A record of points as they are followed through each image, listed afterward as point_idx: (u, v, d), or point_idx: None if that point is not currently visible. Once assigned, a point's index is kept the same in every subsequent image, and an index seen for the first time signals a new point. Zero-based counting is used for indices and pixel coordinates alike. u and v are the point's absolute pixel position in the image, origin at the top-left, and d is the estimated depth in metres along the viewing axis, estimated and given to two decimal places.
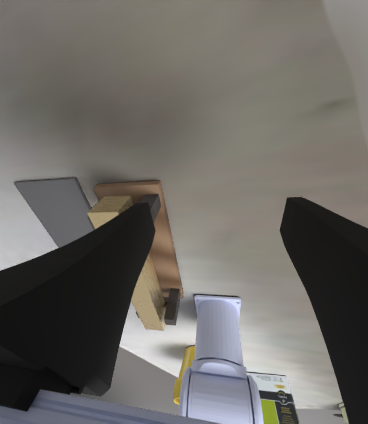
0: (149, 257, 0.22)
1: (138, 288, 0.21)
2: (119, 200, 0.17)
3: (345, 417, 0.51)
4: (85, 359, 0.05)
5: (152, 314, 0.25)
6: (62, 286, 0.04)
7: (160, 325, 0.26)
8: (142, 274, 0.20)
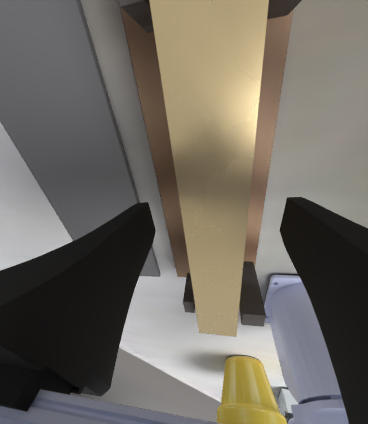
0: None
1: (222, 232, 0.09)
2: None
3: None
4: (85, 359, 0.05)
5: (226, 303, 0.12)
6: (62, 286, 0.04)
7: (234, 325, 0.13)
8: (250, 183, 0.07)
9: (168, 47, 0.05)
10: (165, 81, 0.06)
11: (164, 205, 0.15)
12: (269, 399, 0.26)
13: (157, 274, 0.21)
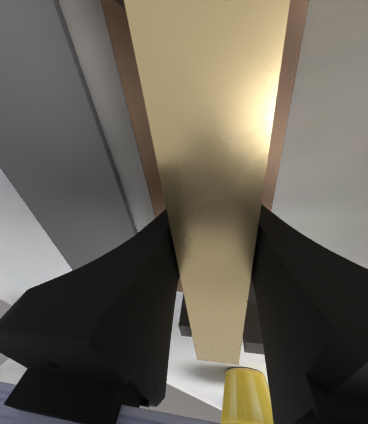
0: None
1: (222, 261, 0.07)
2: None
3: None
4: (151, 369, 0.05)
5: (227, 334, 0.10)
6: (137, 291, 0.04)
7: (236, 354, 0.12)
8: (259, 206, 0.05)
9: (145, 22, 0.03)
10: (144, 73, 0.04)
11: None
12: (272, 416, 0.25)
13: None
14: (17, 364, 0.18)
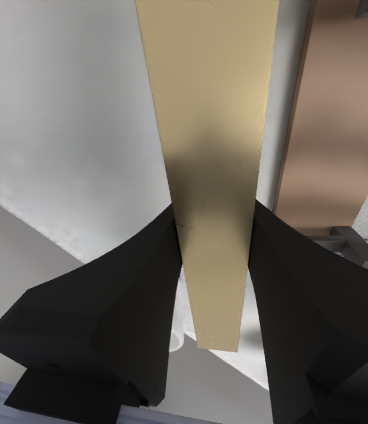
0: None
1: (222, 248, 0.08)
2: None
3: None
4: (150, 369, 0.05)
5: (227, 320, 0.11)
6: (137, 291, 0.04)
7: (235, 341, 0.12)
8: (255, 196, 0.06)
9: (156, 36, 0.04)
10: (154, 79, 0.05)
11: (285, 173, 0.17)
12: None
13: None
14: None
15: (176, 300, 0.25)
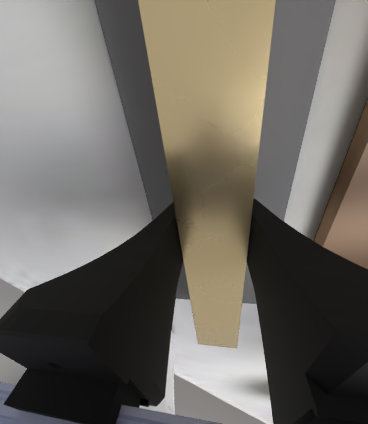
0: None
1: (221, 244, 0.08)
2: None
3: None
4: (151, 369, 0.05)
5: (226, 316, 0.11)
6: (137, 291, 0.04)
7: (234, 337, 0.13)
8: (253, 192, 0.06)
9: (158, 39, 0.04)
10: (156, 79, 0.05)
11: (336, 222, 0.10)
12: None
13: None
14: None
15: None
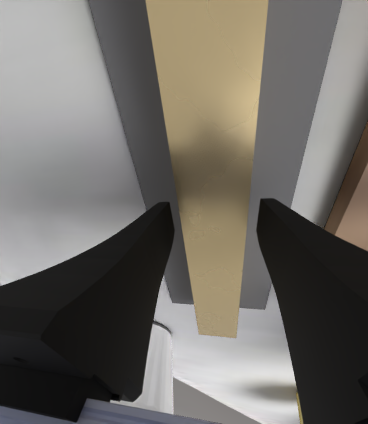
0: None
1: (221, 234, 0.08)
2: None
3: None
4: (123, 365, 0.05)
5: (226, 305, 0.12)
6: (105, 289, 0.04)
7: (234, 327, 0.13)
8: (250, 184, 0.07)
9: (165, 45, 0.05)
10: (162, 80, 0.05)
11: (341, 227, 0.10)
12: None
13: (263, 307, 0.16)
14: (110, 401, 0.15)
15: (164, 381, 0.18)
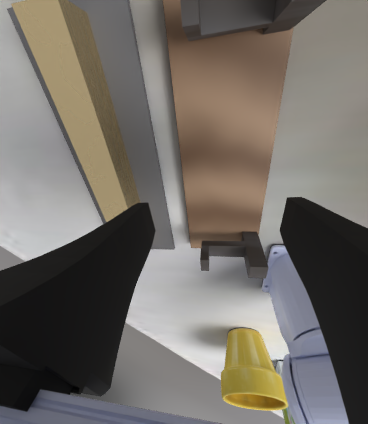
0: (122, 143, 0.17)
1: (106, 179, 0.16)
2: None
3: None
4: (85, 359, 0.05)
5: None
6: (62, 286, 0.04)
7: None
8: (109, 150, 0.14)
9: (53, 89, 0.12)
10: (55, 102, 0.13)
11: (185, 181, 0.18)
12: (267, 362, 0.30)
13: (172, 247, 0.24)
14: None
15: None
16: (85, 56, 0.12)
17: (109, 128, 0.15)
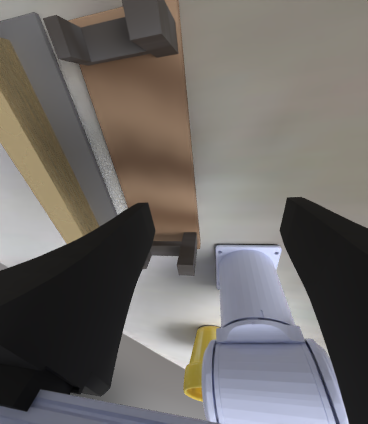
0: (61, 152, 0.18)
1: (44, 185, 0.17)
2: None
3: None
4: (85, 359, 0.05)
5: (75, 233, 0.21)
6: (62, 286, 0.04)
7: None
8: (41, 159, 0.16)
9: None
10: None
11: (122, 186, 0.19)
12: None
13: None
14: None
15: None
16: (6, 78, 0.14)
17: (41, 139, 0.16)
